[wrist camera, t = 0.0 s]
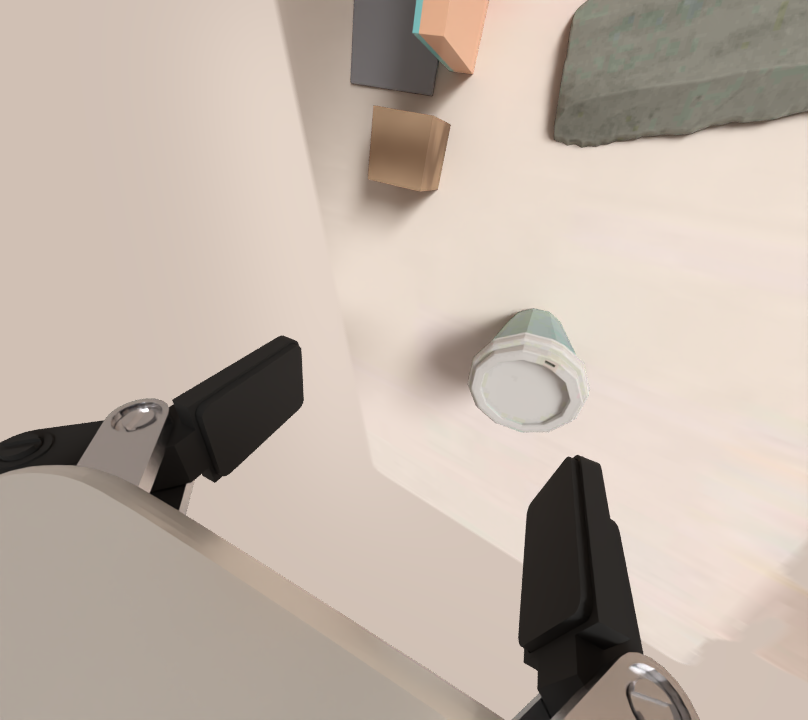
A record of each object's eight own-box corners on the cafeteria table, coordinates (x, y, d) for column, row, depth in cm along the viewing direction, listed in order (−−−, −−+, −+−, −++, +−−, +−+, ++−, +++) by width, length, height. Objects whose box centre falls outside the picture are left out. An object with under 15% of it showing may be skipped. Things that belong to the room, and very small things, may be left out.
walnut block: (399, 115, 33) (373, 105, 28) (450, 124, 31) (433, 115, 26) (391, 178, 36) (367, 179, 31) (437, 189, 35) (420, 191, 30)
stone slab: (568, 14, 25) (550, 153, 29) (571, -7, 23) (551, 147, 27) (997, -101, 17) (893, 111, 21) (1068, -152, 15) (936, 97, 19)
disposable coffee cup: (544, 379, 41) (542, 461, 29) (474, 342, 42) (445, 406, 31) (599, 315, 34) (624, 388, 23) (514, 274, 36) (496, 323, 24)
